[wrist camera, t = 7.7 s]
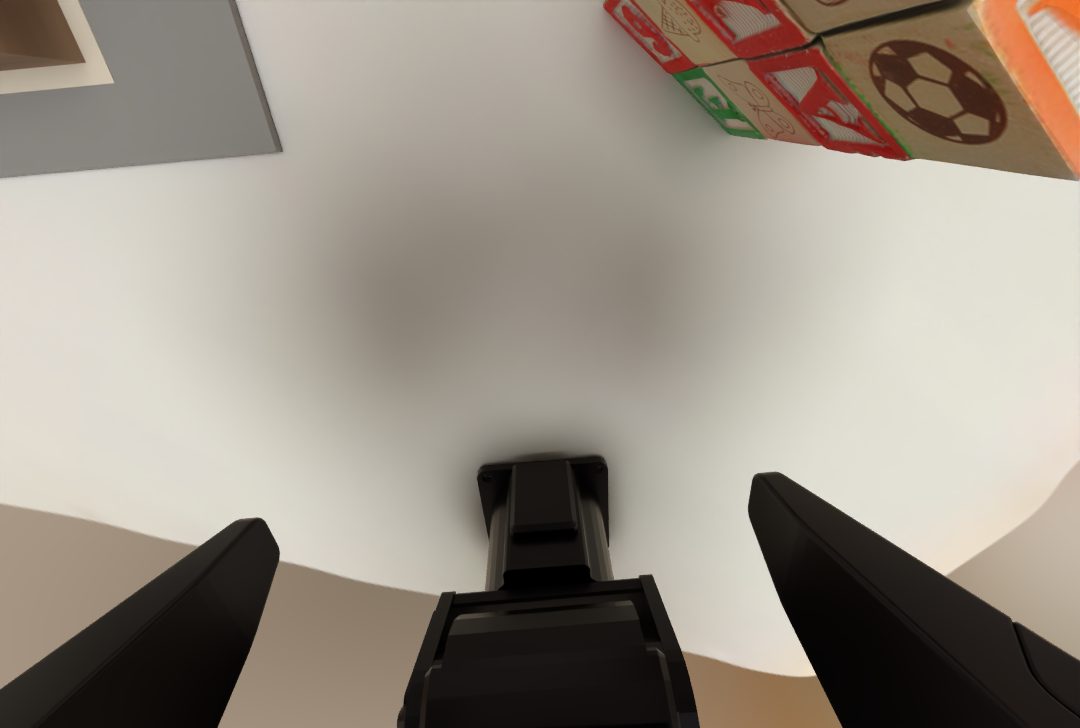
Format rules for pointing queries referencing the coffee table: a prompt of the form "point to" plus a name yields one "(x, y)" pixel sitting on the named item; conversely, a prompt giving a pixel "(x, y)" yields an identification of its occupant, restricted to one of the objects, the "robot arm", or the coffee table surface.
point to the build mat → (138, 91)
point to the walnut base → (35, 35)
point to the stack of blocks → (881, 74)
